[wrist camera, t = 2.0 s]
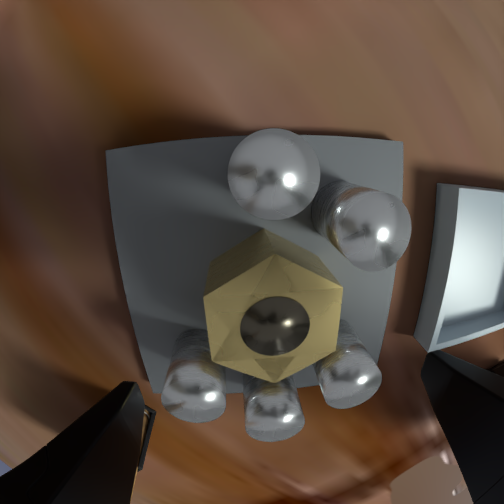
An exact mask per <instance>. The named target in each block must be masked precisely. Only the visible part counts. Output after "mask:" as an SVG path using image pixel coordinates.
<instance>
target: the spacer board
mask: <svg viewBox="0 0 504 504" xmlns="http://www.w3.org/2000/svg"><path fill="white" fill-rule="evenodd" d="M247 136H249V135H247ZM247 136H226V137H210V138H197V139H186V140H176V141H167V142H159V143H151V144H144V145H137V146H130V147H124V148H118V149H112V150H106V164H107V177H108V188H109V197H110V206H111V214H112V222H113V229H114V235H115V242H116V248H117V254H118V259H119V265H120V270H121V275H122V280H123V285H124V290H125V294H126V299H127V303H128V307H129V311H130V316H131V320H132V324H133V327H134V331H135V335H136V339H137V342H138V346H139V349H140V353H141V356H142V359H143V363H144V366H145V369H146V372H147V375H148V379H149V382H150V385H151V388H152V391H153V393H162V391H163V387H164V383H165V379H166V375H167V371H168V368H169V364H170V360H171V356H172V352H173V349H174V345H175V341H176V339H177V338H178V336H179V335H180V334H181V333H183V332H185V331H187V330H190V329H206V330H207V323H206V315H205V307H204V299H203V296H204V291H205V286H206V280H207V275H208V270H209V265H210V262H211V261H212V260H214V259H215V258H217V257H218V256H220V255H222V254H223V253H225V252H226V251H228V250H230V249H231V248H233V247H234V246H236V245H237V244H239V243H241V242H242V241H244V240H245V239H247V238H249V237H250V236H252V235H253V234H255V233H257V232H258V231H260V230H261V229H263V228H265V229H267V230H269V231H271V232H273V233H275V234H277V235H278V236H280V237H282V238H284V239H286V240H288V241H290V242H292V243H294V244H296V245H298V246H300V247H302V248H304V249H306V250H308V251H310V252H311V253H313V254H315V255H317V256H318V257H319V258H320V259H321V261H322V262H323V263H324V264H325V266H326V267H327V268H328V269H329V271H330V272H331V273H332V274H333V275H334V277H335V278H336V279H337V280H338V282H339V283H340V284H341V285H342V287H343V294H342V304H341V313H340V319H343V320H345V321H347V322H348V323H349V324H350V325H351V326H352V328H353V329H354V331H355V332H356V334H357V335H358V337H359V338H360V340H361V342H362V343H363V345H364V346H365V348H366V349H367V351H368V353H369V354H370V356H371V357H372V359H373V360H374V362H375V364H376V365H377V362H378V359H379V354H380V350H381V346H382V342H383V337H384V333H385V328H386V323H387V318H388V313H389V308H390V302H391V296H392V290H393V284H394V277H395V270H396V262H395V263H394V264H393V265H392V266H390V267H388V268H386V269H384V270H381V271H376V272H369V271H364V270H361V269H359V268H357V267H356V266H354V265H353V264H352V263H351V262H350V261H349V260H348V259H347V258H345V257H344V256H343V255H342V254H341V253H340V252H339V251H338V250H337V249H336V248H335V247H334V246H333V245H332V244H331V243H330V242H328V241H327V240H326V239H325V238H324V237H323V236H322V235H321V234H320V233H319V232H318V231H317V230H316V228H315V227H314V225H313V223H312V219H311V205H312V201H313V200H312V201H311V202H310V204H309V205H308V206H307V207H306V208H305V209H304V210H302V211H301V212H299V213H298V214H296V215H294V216H292V217H289V218H286V219H282V220H267V219H262V218H259V217H256V216H254V215H252V214H250V213H248V212H247V211H246V210H244V209H243V208H242V207H241V206H240V205H239V204H238V202H237V201H236V200H235V198H234V196H233V195H232V192H231V190H230V187H229V183H228V165H229V161H230V158H231V156H232V153H233V152H234V150H235V148H236V147H237V146H238V145H239V143H240V142H241V141H242V140H243V139H245V138H246V137H247ZM299 136H300V137H302V138H303V139H304V140H305V141H306V142H307V143H308V144H309V145H310V146H311V147H312V149H313V150H314V152H315V154H316V156H317V159H318V162H319V166H320V182H319V187H318V190H317V192H318V191H319V190H320V189H321V188H322V187H323V186H325V185H327V184H329V183H331V182H335V181H344V182H349V183H353V184H356V185H360V186H364V187H368V188H371V189H375V190H379V191H382V192H386V193H389V194H392V195H394V196H395V197H397V198H398V199H400V200H401V201H402V192H403V142H400V141H391V140H381V139H370V138H358V137H343V136H322V135H299ZM317 192H316V194H317ZM316 194H315V195H316ZM314 197H315V196H314ZM313 199H314V198H313ZM293 378H294V381H295V385H296V388H300V387H308V386H315V385H319V382H318V379H317V376H316V374H315V371H314V368H313V365H312V364H311V365H309V366H308V367H306V368H304V369H302V370H300V371H298V372H296V373H294V374H293ZM226 393H243V380H242V372H239V371H236V370H234V369H231V368H228V367H226Z"/></svg>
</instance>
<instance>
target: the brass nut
mask: <svg viewBox="0 0 504 504" xmlns="http://www.w3.org/2000/svg"><path fill="white" fill-rule="evenodd" d="M342 294H343V287H342V285H341V284H340V283H339V282H338V280H337V279H336V278H335V277H334V275H333V274H332V273H331V272H330V271H329V269H328V268H327V267H326V266H325V264H324V263H323V262H322V261H321V259H320V258H319V257H318V256H317V255H315V254H313V253H311V252H310V251H308V250H306V249H304V248H302V247H300V246H298V245H296V244H294V243H292V242H290V241H288V240H286V239H284V238H282V237H280V236H278V235H277V234H275V233H273V232H271V231H269V230H267V229H265V228H263V229H261V230H260V231H258V232H257V233H255V234H253V235H252V236H250V237H249V238H247V239H245V240H244V241H242V242H241V243H239V244H237V245H236V246H234V247H233V248H231V249H230V250H228V251H226V252H225V253H223V254H222V255H220V256H218V257H217V258H215V259H214V260H212V261H211V262H210V265H209V270H208V275H207V280H206V286H205V291H204V296H203V299H204V307H205V315H206V323H207V331H208V338H209V345H210V352H211V359H212V362H215V363H217V364H220V365H223V366H225V367H228V368H231V369H234V370H236V371H239V372H242V373H245V374H248V375H251V376H254V377H257V378H260V379H263V380H266V381H270V382H273V383H276V382H278V381H281V380H283V379H284V378H286V377H288V376H290V375H292V374H294V373H296V372H298V371H300V370H302V369H304V368H306V367H308V366H309V365H311V364H313V363H315V362H317V361H318V360H320V359H322V358H324V357H326V356H327V355H329V354H331V353H333V352H334V351H336V345H337V337H338V330H339V322H340V313H341V304H342Z"/></svg>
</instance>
